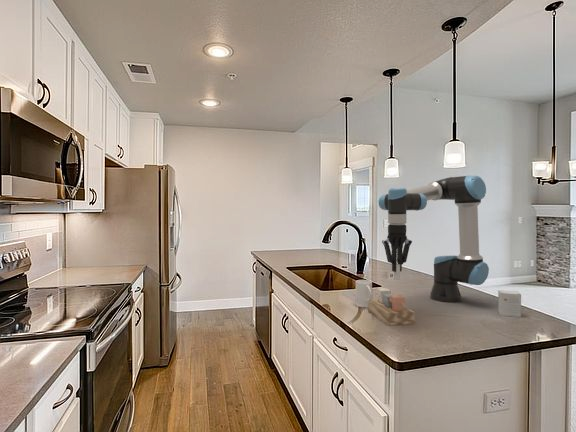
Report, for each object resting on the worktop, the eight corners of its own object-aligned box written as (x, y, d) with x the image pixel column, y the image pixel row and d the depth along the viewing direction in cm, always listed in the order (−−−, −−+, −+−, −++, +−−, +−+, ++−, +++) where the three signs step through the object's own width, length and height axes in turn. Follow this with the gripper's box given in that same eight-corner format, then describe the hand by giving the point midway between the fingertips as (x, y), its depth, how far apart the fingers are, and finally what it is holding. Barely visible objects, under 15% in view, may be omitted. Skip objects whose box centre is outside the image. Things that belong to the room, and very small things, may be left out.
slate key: (392, 309, 160) (392, 293, 160) (397, 312, 156) (397, 296, 156) (382, 309, 160) (382, 294, 159) (387, 312, 155) (387, 296, 155)
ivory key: (386, 302, 167) (386, 288, 167) (390, 305, 162) (390, 290, 162) (376, 303, 166) (376, 288, 166) (381, 306, 161) (381, 290, 161)
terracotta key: (399, 310, 154) (399, 294, 154) (405, 313, 149) (405, 297, 149) (389, 311, 153) (389, 295, 153) (394, 314, 148) (394, 298, 148)
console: (392, 310, 169) (392, 299, 168) (414, 323, 149) (414, 311, 149) (368, 311, 166) (368, 300, 166) (387, 325, 147) (387, 313, 147)
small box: (517, 313, 162) (517, 291, 162) (521, 317, 157) (521, 293, 156) (497, 312, 165) (498, 289, 164) (500, 315, 159) (501, 292, 159)
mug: (377, 308, 171) (377, 284, 170) (361, 309, 169) (361, 285, 169) (368, 302, 182) (368, 279, 182) (352, 303, 181) (352, 280, 180)
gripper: (406, 223, 155) (406, 276, 156) (379, 224, 153) (378, 278, 154) (415, 224, 148) (415, 280, 148) (386, 224, 146) (386, 281, 146)
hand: (396, 279), depth 151 cm, fingers closed
